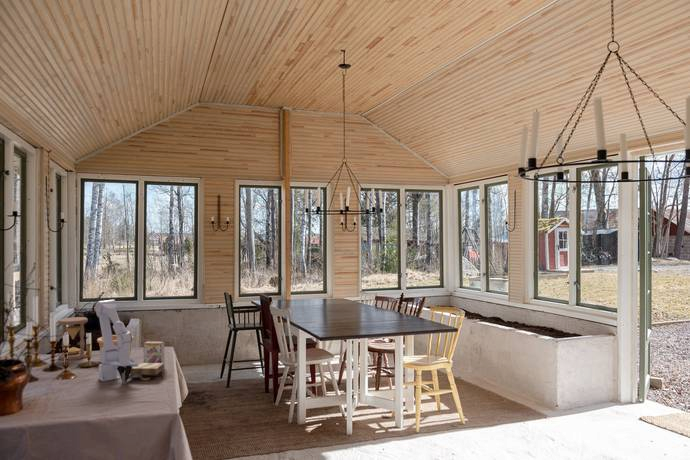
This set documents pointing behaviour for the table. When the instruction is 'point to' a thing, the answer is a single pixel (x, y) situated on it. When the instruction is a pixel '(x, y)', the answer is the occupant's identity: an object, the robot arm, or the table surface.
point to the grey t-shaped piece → (128, 378)
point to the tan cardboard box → (148, 369)
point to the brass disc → (145, 378)
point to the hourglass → (73, 330)
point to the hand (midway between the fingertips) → (124, 379)
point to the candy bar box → (154, 352)
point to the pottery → (101, 344)
